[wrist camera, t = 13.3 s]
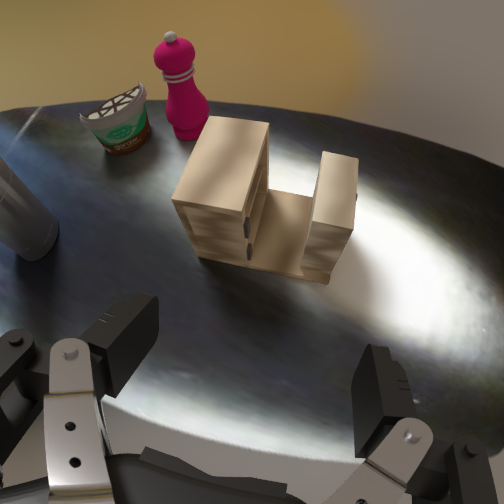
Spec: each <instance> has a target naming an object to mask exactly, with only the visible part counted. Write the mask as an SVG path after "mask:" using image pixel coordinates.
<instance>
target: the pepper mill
mask: <svg viewBox="0 0 504 504" xmlns="http://www.w3.org/2000/svg"><path fill="white" fill-rule="evenodd" d="M176 37H177V36H176V34H175V33H174V32H172V31H170V32H167V33H166V34H165V35H164V40H165V41H163V42H162V43H161V44H159V45H158V47H157V48H156V50H155V52H154V62H155V64H156V66H157V67H158V68H159V69H160V70H161V74H162V78H163V80H164V81H165V82H167V84H168V89H169V92H168V100H167V104H166V116H167V119H168V121H169V123H170V124H172V125H173V129H174V133H175V135H176V136H177V137H178V138H179V139H181V140H186V141H190V140H195V139H198V138H199V136H200V134H201V132H202V130H203V128H204V126H205V124H206V122H207V120H208V117H207V116H208V113H209V106H208V102H207V100H206V98H205V97H204V96H203V94H202V93H201V92H200V91H199V90H198V89H197V87H196V85H195V83H194V79H193V74H194V72H195V69H194V64H193V60H194V58H195V50H194V47H193V45H192V44H191V43H190V42H189V41H188V40H186V39H183V38H176Z"/></svg>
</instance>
